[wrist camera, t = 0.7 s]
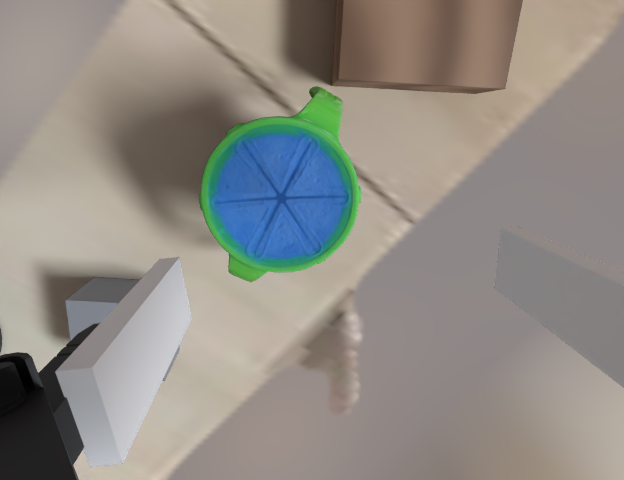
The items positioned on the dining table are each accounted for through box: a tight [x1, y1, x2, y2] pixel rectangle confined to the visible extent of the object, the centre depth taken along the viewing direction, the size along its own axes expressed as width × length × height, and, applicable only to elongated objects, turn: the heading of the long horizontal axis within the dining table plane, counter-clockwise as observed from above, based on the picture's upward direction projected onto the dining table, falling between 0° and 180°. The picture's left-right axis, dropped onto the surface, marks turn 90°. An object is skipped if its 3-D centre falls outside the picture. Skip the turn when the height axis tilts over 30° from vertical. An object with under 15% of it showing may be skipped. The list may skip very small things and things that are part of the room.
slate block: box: [65, 277, 179, 381], centre depth 34 cm, size 8×8×5 cm
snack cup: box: [199, 87, 361, 282], centre depth 28 cm, size 16×10×10 cm
